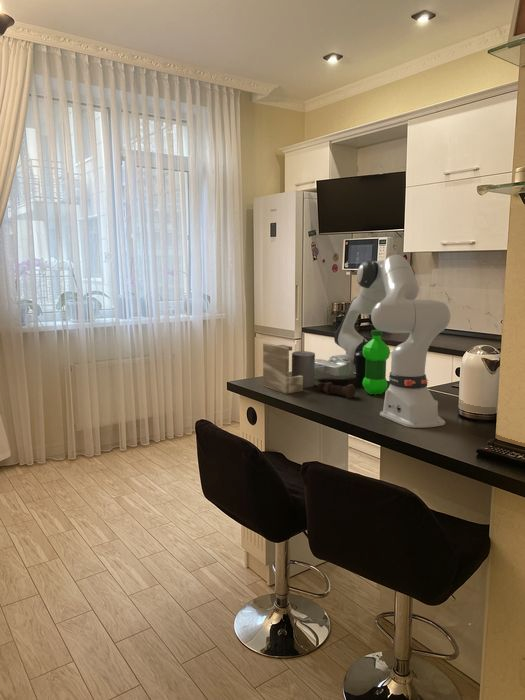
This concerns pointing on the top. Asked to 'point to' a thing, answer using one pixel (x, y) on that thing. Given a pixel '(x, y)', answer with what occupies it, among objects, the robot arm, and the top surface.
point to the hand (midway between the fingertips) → (312, 368)
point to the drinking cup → (360, 367)
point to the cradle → (279, 369)
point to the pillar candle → (304, 367)
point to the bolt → (337, 389)
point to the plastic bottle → (375, 364)
